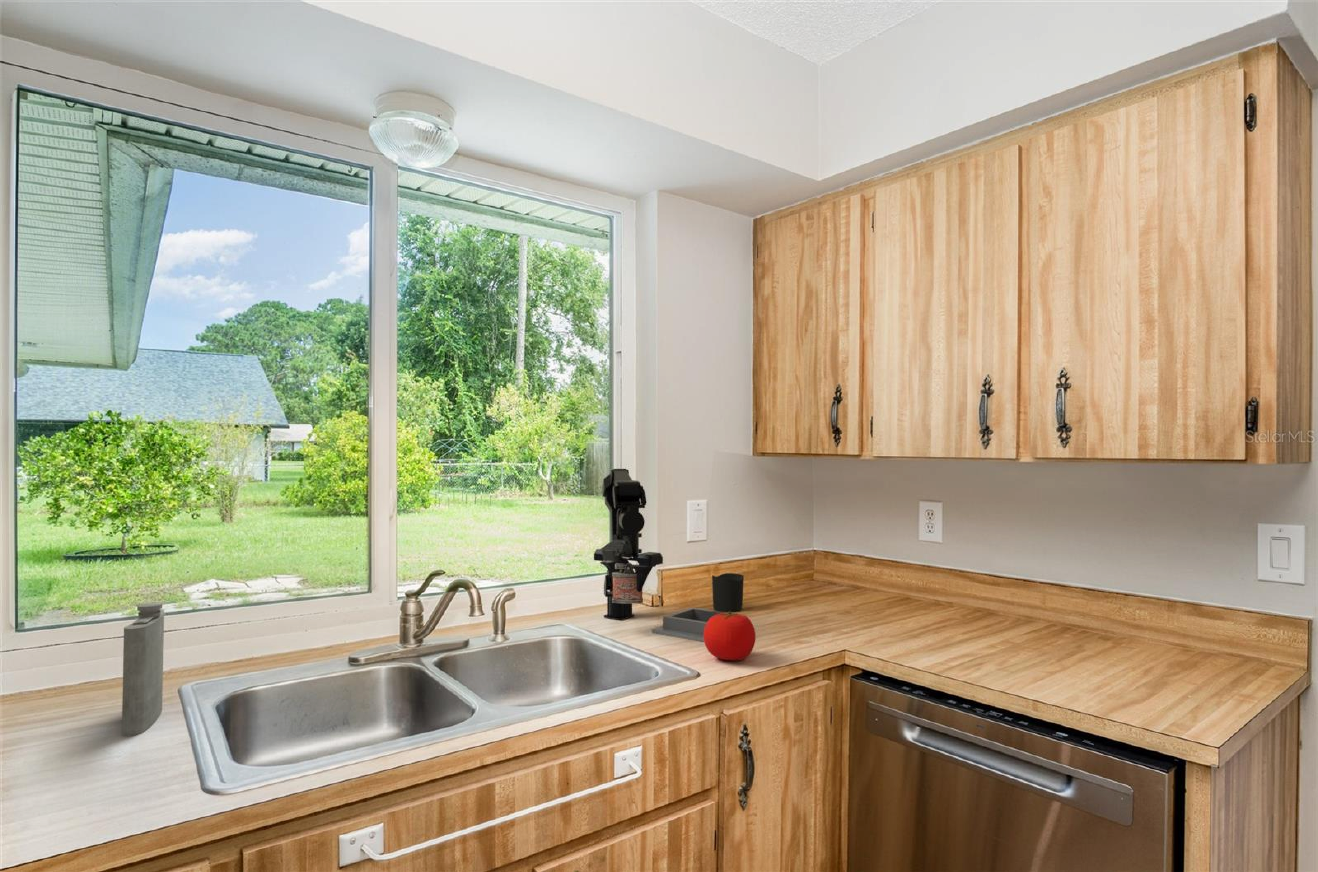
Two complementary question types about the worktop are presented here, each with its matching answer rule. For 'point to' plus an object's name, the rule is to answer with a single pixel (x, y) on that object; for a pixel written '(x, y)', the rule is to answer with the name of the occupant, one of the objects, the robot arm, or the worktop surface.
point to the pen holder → (728, 592)
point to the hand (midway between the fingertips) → (627, 590)
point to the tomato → (729, 636)
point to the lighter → (625, 585)
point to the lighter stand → (686, 623)
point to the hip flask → (143, 670)
